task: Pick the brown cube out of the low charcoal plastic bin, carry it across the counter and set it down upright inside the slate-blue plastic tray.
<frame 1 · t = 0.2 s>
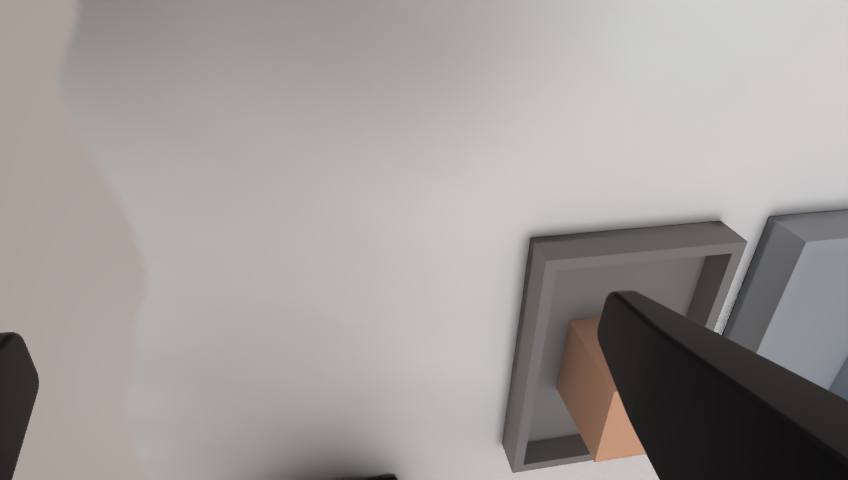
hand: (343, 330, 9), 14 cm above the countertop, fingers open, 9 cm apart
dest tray: (800, 319, 33), on the countertop
brown cube: (604, 350, 31), resting on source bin
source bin: (600, 344, 31), on the countertop
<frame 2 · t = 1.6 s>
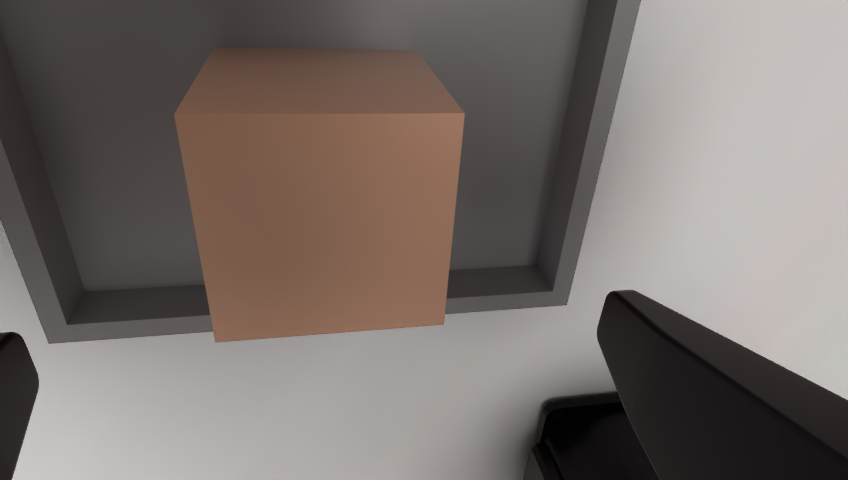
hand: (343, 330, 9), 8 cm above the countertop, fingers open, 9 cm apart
brown cube: (322, 143, 15), resting on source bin
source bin: (322, 136, 15), on the countertop
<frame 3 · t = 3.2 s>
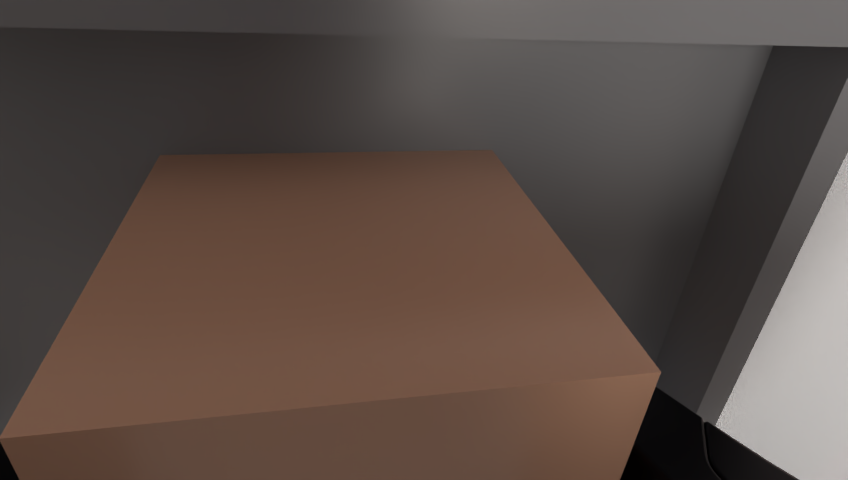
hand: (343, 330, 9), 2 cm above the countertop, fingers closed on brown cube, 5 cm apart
brown cube: (338, 285, 10), resting on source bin, touching gripper
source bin: (337, 269, 10), on the countertop
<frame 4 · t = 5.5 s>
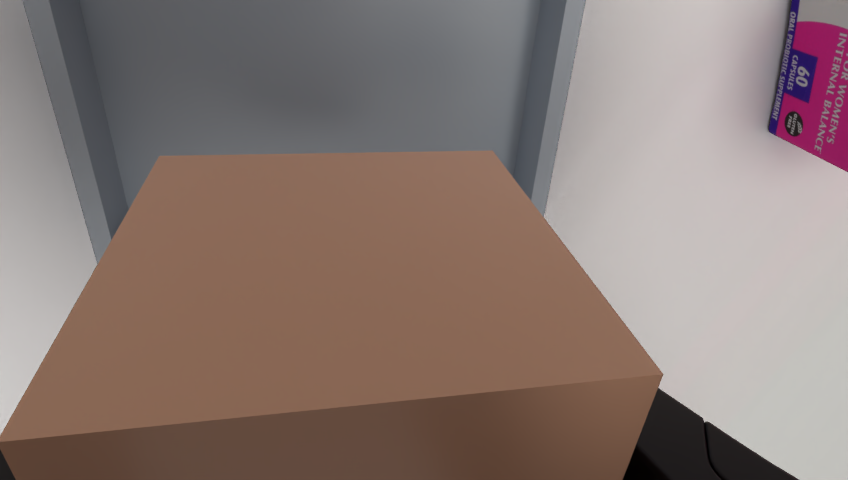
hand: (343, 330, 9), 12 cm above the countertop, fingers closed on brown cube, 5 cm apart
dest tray: (328, 96, 19), on the countertop
supplement box: (836, 50, 22), on the countertop
brown cube: (338, 286, 10), point 11 cm above the countertop, touching gripper
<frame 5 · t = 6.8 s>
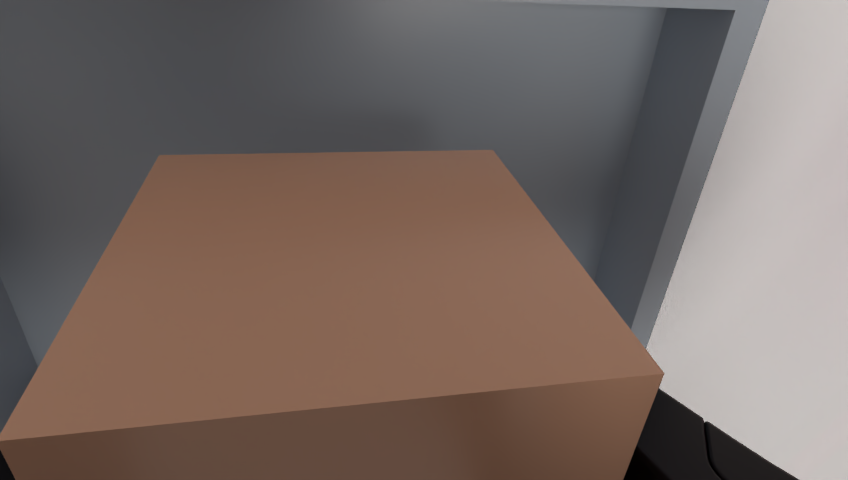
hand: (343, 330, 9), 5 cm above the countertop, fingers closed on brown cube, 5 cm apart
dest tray: (329, 191, 13), on the countertop
brown cube: (338, 285, 10), point 4 cm above the countertop, touching gripper
when the fingers open (3 cm above the countertop, at t = 7.9 s): brown cube drops 2 cm, resting on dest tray.
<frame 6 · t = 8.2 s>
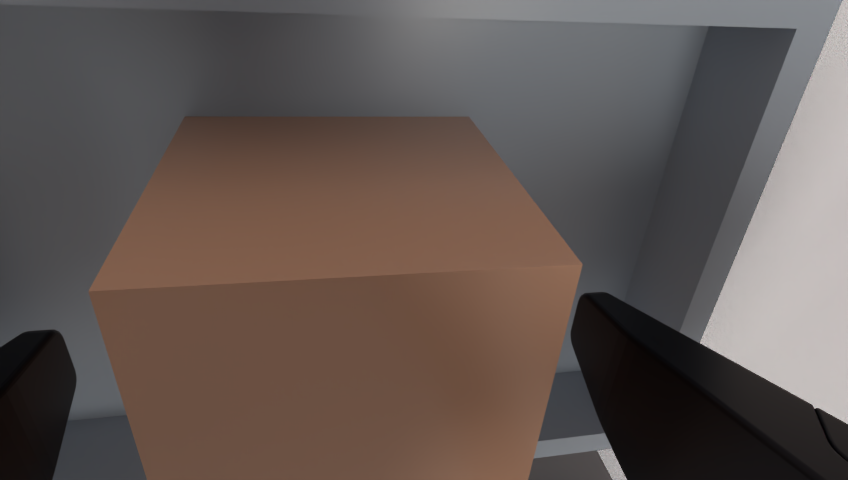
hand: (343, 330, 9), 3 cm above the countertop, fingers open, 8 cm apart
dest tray: (333, 223, 11), on the countertop
brown cube: (336, 236, 11), resting on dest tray
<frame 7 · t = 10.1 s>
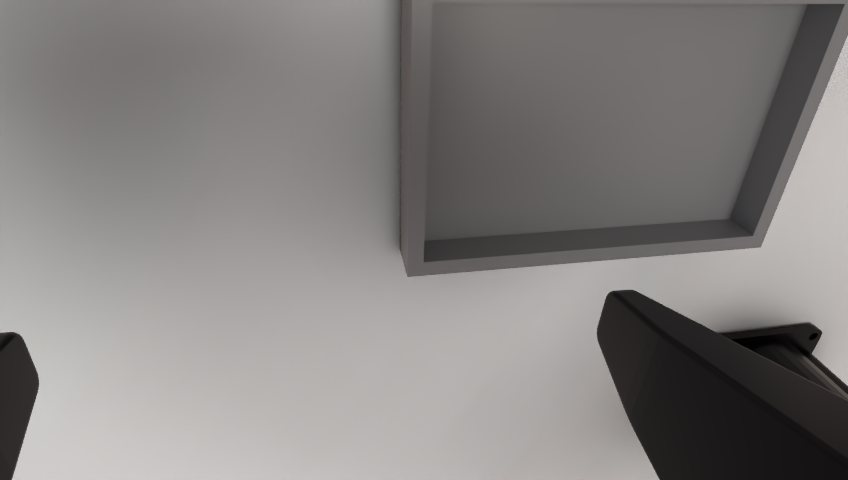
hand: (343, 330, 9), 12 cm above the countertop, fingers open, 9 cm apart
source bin: (596, 121, 21), on the countertop
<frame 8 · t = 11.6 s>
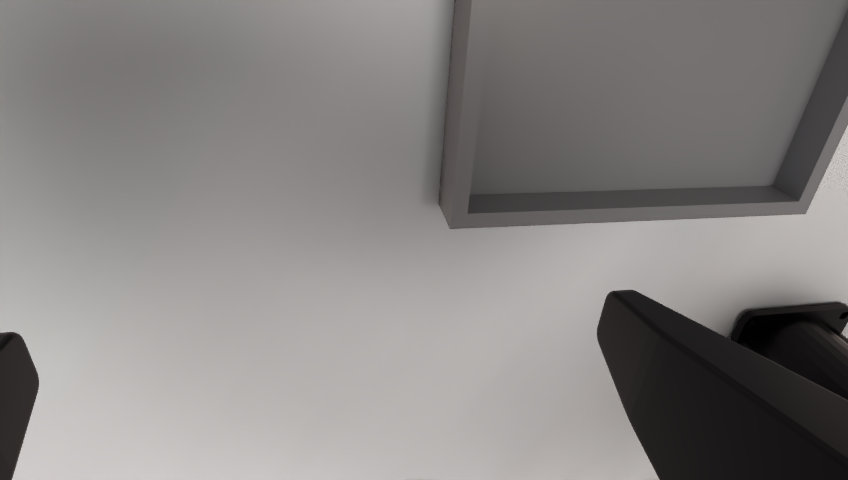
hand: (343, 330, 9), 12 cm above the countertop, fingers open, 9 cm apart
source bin: (647, 75, 20), on the countertop
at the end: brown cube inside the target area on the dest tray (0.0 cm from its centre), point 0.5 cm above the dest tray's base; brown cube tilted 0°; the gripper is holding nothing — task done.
